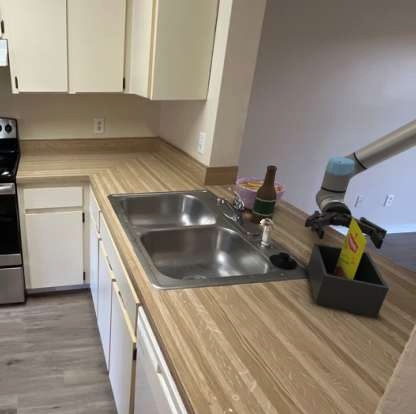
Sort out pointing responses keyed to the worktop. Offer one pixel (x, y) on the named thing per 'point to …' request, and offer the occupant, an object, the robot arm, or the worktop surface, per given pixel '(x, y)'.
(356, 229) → the food package
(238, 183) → the bowl of food
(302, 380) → the worktop surface
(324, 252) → the storage bin
